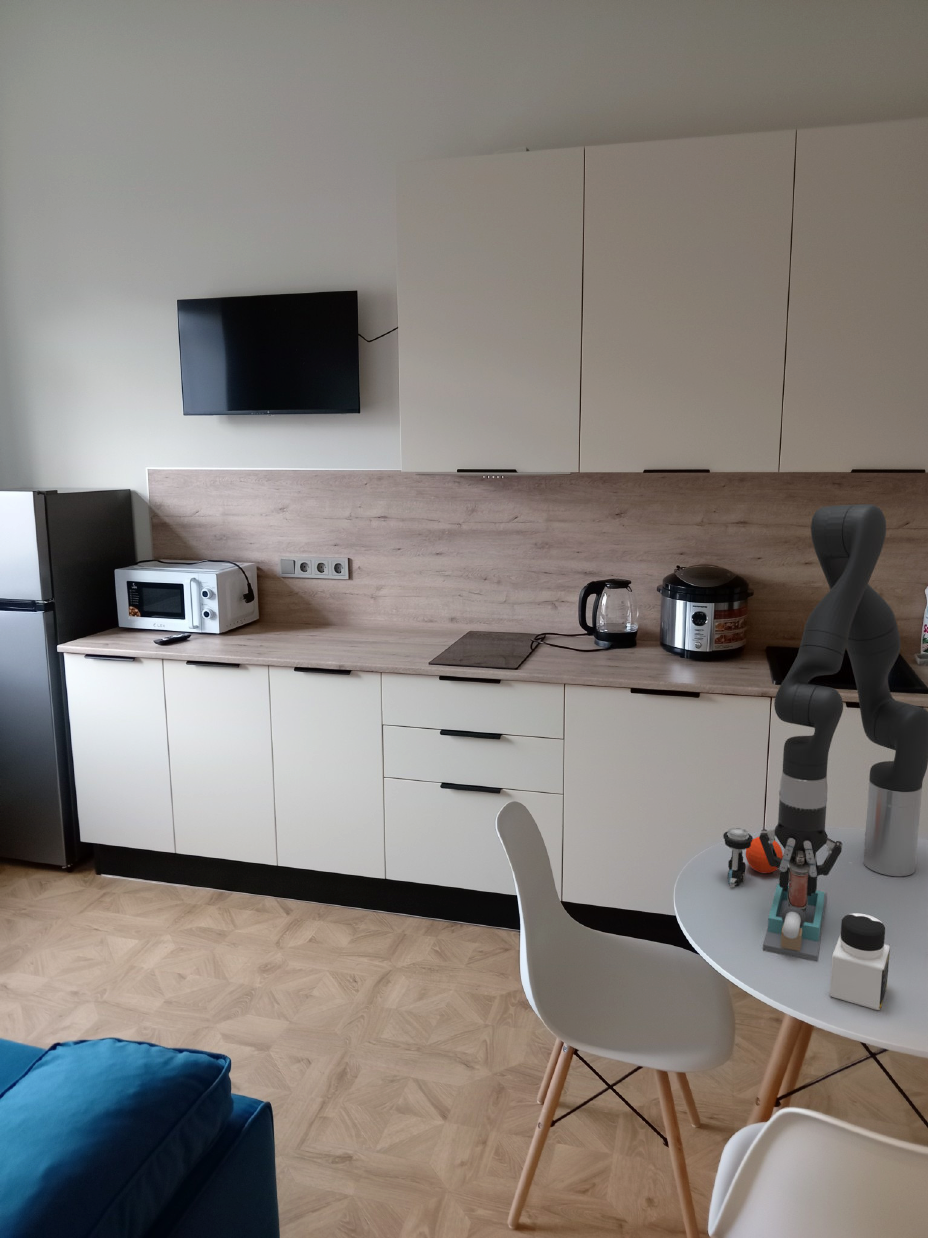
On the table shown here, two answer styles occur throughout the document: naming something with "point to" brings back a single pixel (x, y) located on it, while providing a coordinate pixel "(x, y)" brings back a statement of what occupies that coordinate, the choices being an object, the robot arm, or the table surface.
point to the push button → (737, 853)
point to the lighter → (798, 881)
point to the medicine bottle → (860, 962)
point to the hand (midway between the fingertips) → (797, 891)
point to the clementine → (761, 856)
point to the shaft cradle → (795, 926)
